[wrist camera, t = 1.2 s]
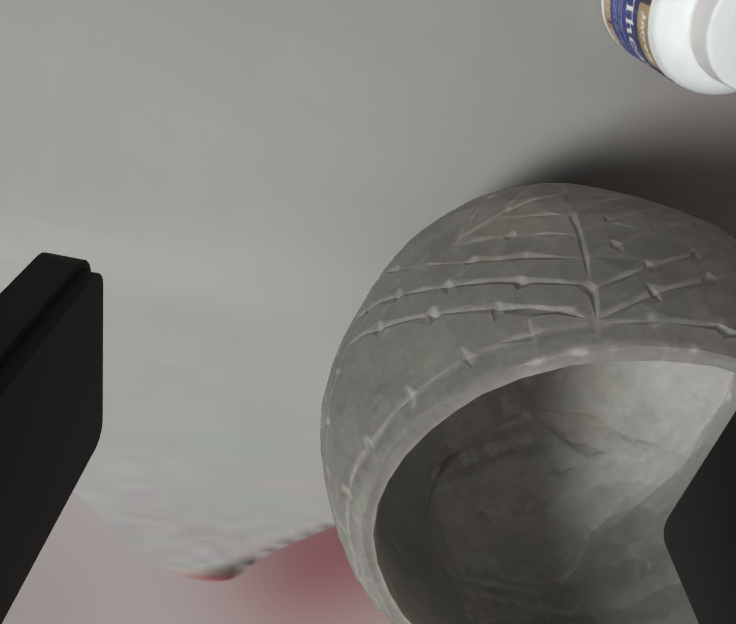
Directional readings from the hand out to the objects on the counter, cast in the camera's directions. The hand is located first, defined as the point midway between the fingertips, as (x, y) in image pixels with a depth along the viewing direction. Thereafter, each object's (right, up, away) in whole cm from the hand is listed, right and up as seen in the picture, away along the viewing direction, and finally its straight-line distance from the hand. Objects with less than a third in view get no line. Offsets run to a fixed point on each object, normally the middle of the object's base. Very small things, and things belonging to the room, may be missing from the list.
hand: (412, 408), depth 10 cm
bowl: (+8, +1, +27) cm, 29 cm away
